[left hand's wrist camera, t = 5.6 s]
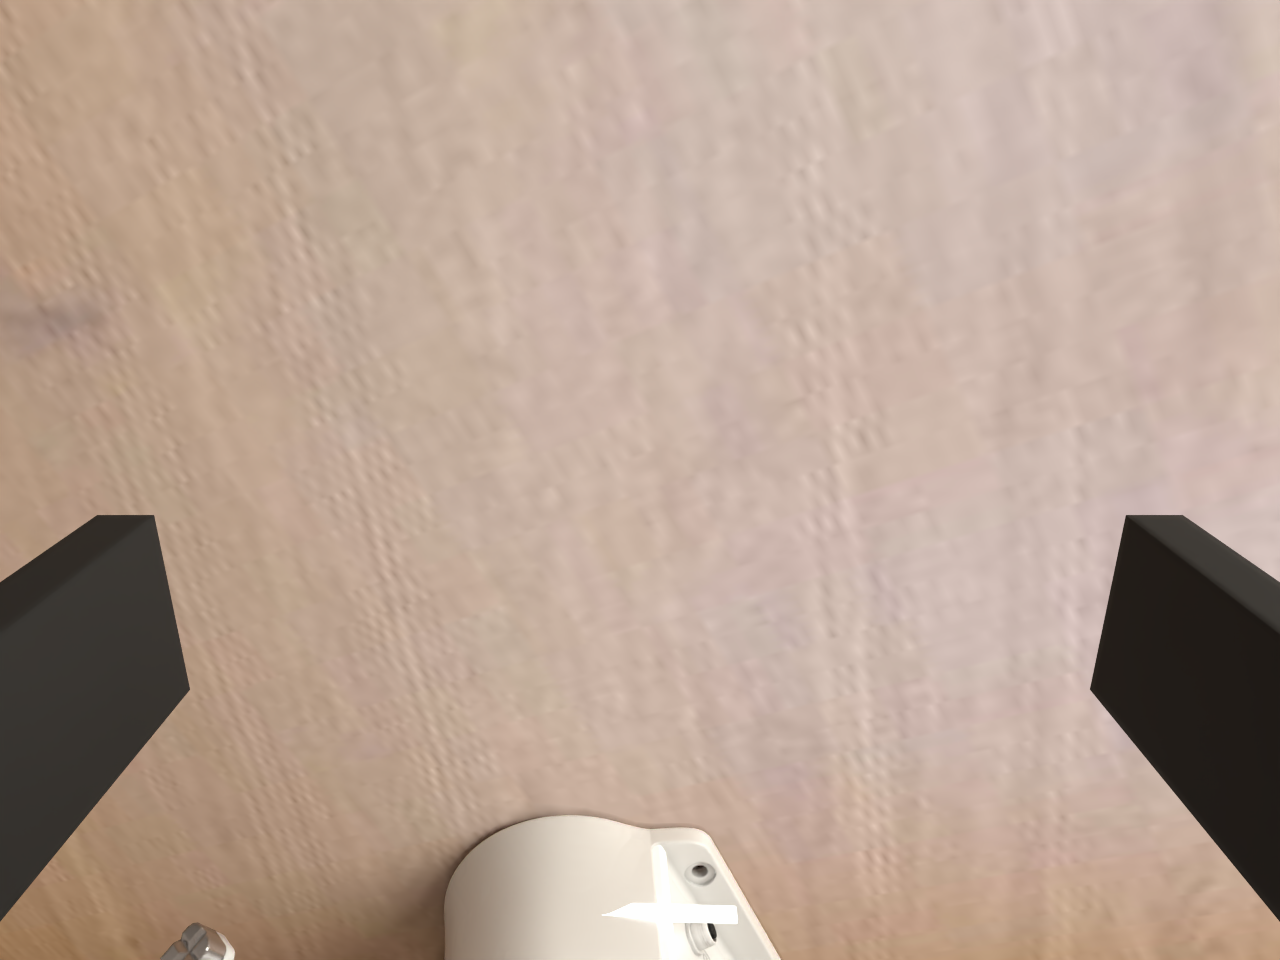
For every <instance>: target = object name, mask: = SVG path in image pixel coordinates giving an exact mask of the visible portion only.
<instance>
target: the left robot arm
mask: <svg viewBox="0 0 1280 960" xmlns="http://www.w3.org/2000/svg"><path fill="white" fill-rule="evenodd" d="M189 690H190V687H189V683H188V678H187V673H186V668H185V663H184V658H183V653H182V649H181V644H180V639H179V634H178V629H177V624H176V620H175V615H174V610H173V605H172V600H171V595H170V590H169V586H168V581H167V576H166V571H165V566H164V561H163V557H162V552H161V547H160V542H159V537H158V532H157V528H156V523H155V518H154V515H97V516H95V517H94V518H93V519H91V520H90V521H88V522H87V523H85V524H84V525H82V526H81V527H80V528H78V529H77V530H75V531H74V532H72V533H71V534H69V535H68V536H67V537H65V538H64V539H62V540H61V541H59V542H58V543H56V544H55V545H54V546H52V547H51V548H49V549H48V550H46V551H45V552H43V553H42V554H41V555H39V556H38V557H36V558H35V559H33V560H32V561H30V562H29V563H28V564H26V565H25V566H23V567H22V568H20V569H19V570H17V571H16V572H15V573H13V574H12V575H10V576H9V577H7V578H6V579H4V580H3V581H2V582H0V921H1V920H2V919H3V917H4V916H5V915H6V914H7V913H8V911H9V910H10V909H11V908H12V906H13V905H14V904H15V903H16V902H17V900H18V899H19V898H20V897H21V895H22V894H23V893H24V892H25V891H26V889H27V888H28V887H29V886H30V884H31V883H32V882H33V881H34V880H35V878H36V877H37V876H38V875H39V873H40V872H41V871H42V870H43V869H44V867H45V866H46V865H47V864H48V862H49V861H50V860H51V859H52V858H53V856H54V855H55V854H56V853H57V851H58V850H59V849H60V848H61V847H62V845H63V844H64V843H65V842H66V840H67V839H68V838H69V837H70V836H71V834H72V833H73V832H74V831H75V829H76V828H77V827H78V826H79V825H80V823H81V822H82V821H83V820H84V818H85V817H86V816H87V815H88V814H89V812H90V811H91V810H92V809H93V807H94V806H95V805H96V804H97V803H98V801H99V800H100V799H101V798H102V796H103V795H104V794H105V793H106V792H107V790H108V789H109V788H110V787H111V785H112V784H113V783H114V782H115V781H116V779H117V778H118V777H119V776H120V774H121V773H122V772H123V771H124V770H125V768H126V767H127V766H128V765H129V763H130V762H131V761H132V760H133V759H134V757H135V756H136V755H137V754H138V752H139V751H140V750H141V749H142V748H143V746H144V745H145V744H146V743H147V741H148V740H149V739H150V738H151V736H152V735H153V734H154V733H155V732H156V730H157V729H158V728H159V727H160V725H161V724H162V723H163V722H164V721H165V719H166V718H167V717H168V716H169V714H170V713H171V712H172V711H173V710H174V708H175V707H176V706H177V705H178V703H179V702H180V701H181V700H182V699H183V697H184V696H185V695H186V694H187V692H188V691H189ZM1090 690H1091V691H1092V692H1093V694H1094V695H1095V696H1096V697H1097V699H1098V700H1099V701H1100V702H1101V703H1102V705H1103V706H1104V707H1105V708H1106V710H1107V711H1108V712H1109V713H1110V714H1111V716H1112V717H1113V718H1114V719H1115V721H1116V722H1117V723H1118V724H1119V725H1120V727H1121V728H1122V729H1123V730H1124V732H1125V733H1126V734H1127V735H1128V737H1129V738H1130V739H1131V740H1132V741H1133V743H1134V744H1135V745H1136V746H1137V748H1138V749H1139V750H1140V751H1141V752H1142V754H1143V755H1144V756H1145V757H1146V759H1147V760H1148V761H1149V762H1150V763H1151V765H1152V766H1153V767H1154V768H1155V770H1156V771H1157V772H1158V773H1159V774H1160V776H1161V777H1162V778H1163V779H1164V781H1165V782H1166V783H1167V784H1168V785H1169V787H1170V788H1171V789H1172V790H1173V792H1174V793H1175V794H1176V795H1177V796H1178V798H1179V799H1180V800H1181V801H1182V803H1183V804H1184V805H1185V806H1186V807H1187V809H1188V810H1189V811H1190V812H1191V814H1192V815H1193V816H1194V817H1195V818H1196V820H1197V821H1198V822H1199V823H1200V825H1201V826H1202V827H1203V828H1204V829H1205V831H1206V832H1207V833H1208V834H1209V836H1210V837H1211V838H1212V839H1213V840H1214V842H1215V843H1216V844H1217V845H1218V847H1219V848H1220V849H1221V850H1222V851H1223V853H1224V854H1225V855H1226V856H1227V858H1228V859H1229V860H1230V861H1231V862H1232V864H1233V865H1234V866H1235V867H1236V869H1237V870H1238V871H1239V872H1240V873H1241V875H1242V876H1243V877H1244V878H1245V880H1246V881H1247V882H1248V883H1249V884H1250V886H1251V887H1252V888H1253V889H1254V891H1255V892H1256V893H1257V894H1258V895H1259V897H1260V898H1261V899H1262V900H1263V902H1264V903H1265V904H1266V905H1267V906H1268V908H1269V909H1270V910H1271V911H1272V913H1273V914H1274V915H1275V916H1276V917H1277V919H1278V920H1279V921H1280V582H1278V581H1277V580H1276V579H1274V578H1273V577H1271V576H1270V575H1268V574H1267V573H1265V572H1264V571H1263V570H1261V569H1260V568H1258V567H1257V566H1255V565H1254V564H1252V563H1251V562H1250V561H1248V560H1247V559H1245V558H1244V557H1242V556H1241V555H1239V554H1238V553H1237V552H1235V551H1234V550H1232V549H1231V548H1229V547H1228V546H1226V545H1225V544H1224V543H1222V542H1221V541H1219V540H1218V539H1216V538H1215V537H1213V536H1212V535H1211V534H1209V533H1208V532H1206V531H1205V530H1203V529H1202V528H1200V527H1199V526H1198V525H1196V524H1195V523H1193V522H1192V521H1190V520H1189V519H1187V518H1186V517H1185V516H1183V515H1126V518H1125V523H1124V528H1123V532H1122V537H1121V542H1120V547H1119V552H1118V557H1117V561H1116V566H1115V571H1114V576H1113V581H1112V586H1111V590H1110V595H1109V600H1108V605H1107V610H1106V615H1105V620H1104V624H1103V629H1102V634H1101V639H1100V644H1099V649H1098V653H1097V658H1096V663H1095V668H1094V673H1093V678H1092V683H1091V687H1090Z"/></svg>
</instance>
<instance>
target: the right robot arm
mask: <svg viewBox="0 0 1280 960" xmlns="http://www.w3.org/2000/svg"><path fill="white" fill-rule="evenodd" d="M698 865H702V866H703V867H700V868H697V867H695V866H698ZM444 924H445V958H444V960H781V959H780V957H779V955H778V954H777V952H776V950H775V948H774V947H773V945H772V943H771V941H770V940H769V938H768V936H767V934H766V933H765V931H764V929H763V927H762V926H761V924H760V922H759V921H758V919H757V917H756V915H755V914H754V912H753V910H752V908H751V907H750V905H749V903H748V901H747V900H746V898H745V896H744V894H743V893H742V891H741V889H740V888H739V886H738V884H737V882H736V881H735V879H734V877H733V875H732V874H731V872H730V870H729V868H728V867H727V865H726V863H725V861H724V860H723V858H722V856H721V855H720V853H719V851H718V849H717V848H716V846H715V844H714V842H713V841H712V839H711V838H710V836H709V835H708V834H706V833H705V832H704V831H701V830H699V829H695V828H687V827H673V828H656V829H646V828H640V827H635V826H631V825H627V824H624V823H620V822H617V821H613V820H609V819H604V818H599V817H593V816H583V815H558V816H548V817H541V818H536V819H532V820H528V821H524V822H521V823H518V824H515V825H512V826H510V827H507V828H505V829H503V830H501V831H499V832H497V833H495V834H493V835H492V836H490V837H488V838H487V839H485V840H484V841H482V842H481V843H480V844H479V845H477V846H476V847H475V848H474V849H473V850H472V851H471V852H469V853H468V855H467V856H466V857H465V858H464V859H463V860H462V862H461V863H460V864H459V865H458V867H457V869H456V870H455V872H454V874H453V876H452V877H451V880H450V882H449V885H448V888H447V891H446V895H445V901H444ZM234 956H235V951H234V949H233V947H232V946H231V944H230V943H229V942H228V940H227V939H226V937H225V936H224V935H223V934H221V933H219V932H217V931H215V930H213V929H211V928H209V927H206V926H204V925H202V924H200V923H193V924H191V925H190V926H188V927H187V928H186V930H185V931H184V932H183V933H182V937H181V939H180V940H179V941H177V942H175V943H173V944H172V945H171V947H170V948H169V949H168V950H167V951H166V952H165V953H164V955H163V956H162V957H161V958H160V959H161V960H234Z"/></svg>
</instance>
